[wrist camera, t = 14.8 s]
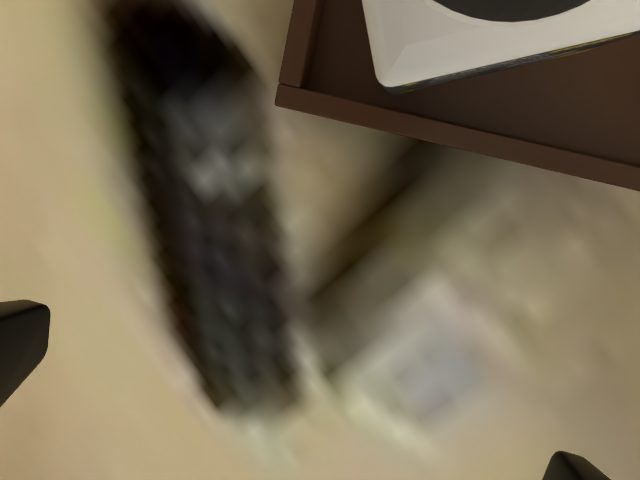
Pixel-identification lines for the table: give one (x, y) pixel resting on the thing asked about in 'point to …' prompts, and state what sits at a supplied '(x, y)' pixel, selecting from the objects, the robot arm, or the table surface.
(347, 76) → the tray
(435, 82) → the medicine bottle
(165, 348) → the table surface
